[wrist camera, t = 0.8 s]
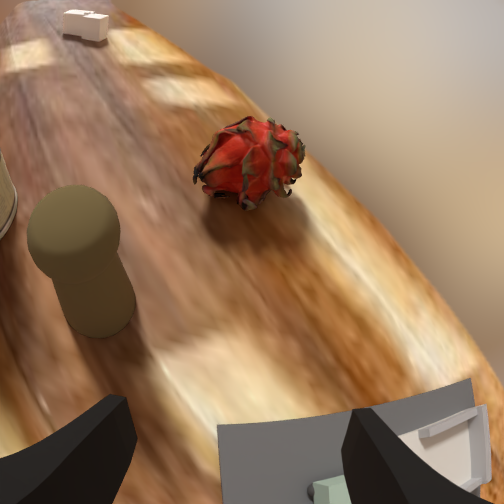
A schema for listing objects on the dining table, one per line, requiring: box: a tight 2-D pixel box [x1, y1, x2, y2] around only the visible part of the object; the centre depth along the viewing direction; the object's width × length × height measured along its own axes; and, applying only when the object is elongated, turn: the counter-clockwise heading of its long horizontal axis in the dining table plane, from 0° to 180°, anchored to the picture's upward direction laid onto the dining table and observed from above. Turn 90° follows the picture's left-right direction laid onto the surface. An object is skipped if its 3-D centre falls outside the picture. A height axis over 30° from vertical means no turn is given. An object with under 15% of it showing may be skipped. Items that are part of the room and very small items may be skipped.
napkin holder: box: [63, 10, 109, 42], centre depth 40 cm, size 15×11×6 cm
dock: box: [217, 378, 491, 504], centre depth 19 cm, size 16×28×4 cm, turn 94°
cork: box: [27, 185, 135, 338], centre depth 17 cm, size 6×6×11 cm
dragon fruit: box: [193, 116, 305, 211], centre depth 29 cm, size 8×8×12 cm
